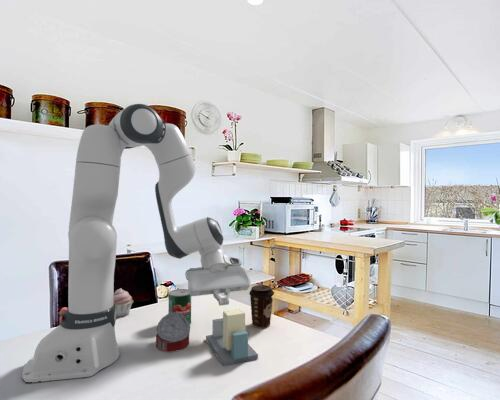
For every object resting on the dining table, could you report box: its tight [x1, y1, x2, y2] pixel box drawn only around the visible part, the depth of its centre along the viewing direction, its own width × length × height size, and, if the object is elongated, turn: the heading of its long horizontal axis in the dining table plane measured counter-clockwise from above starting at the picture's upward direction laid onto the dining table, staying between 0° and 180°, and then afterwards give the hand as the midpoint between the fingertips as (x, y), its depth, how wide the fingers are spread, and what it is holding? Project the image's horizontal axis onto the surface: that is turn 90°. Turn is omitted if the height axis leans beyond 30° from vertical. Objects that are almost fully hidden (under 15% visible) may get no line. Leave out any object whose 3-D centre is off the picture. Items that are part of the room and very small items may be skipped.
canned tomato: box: [167, 288, 192, 326], centre depth 113 cm, size 8×8×11 cm
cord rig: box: [205, 317, 259, 367], centre depth 94 cm, size 10×17×8 cm, turn 23°
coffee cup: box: [248, 284, 275, 329], centre depth 112 cm, size 9×8×13 cm
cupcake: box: [114, 287, 134, 318], centre depth 121 cm, size 9×9×10 cm
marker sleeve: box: [222, 308, 246, 350], centre depth 91 cm, size 5×4×10 cm
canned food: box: [155, 312, 191, 353], centre depth 97 cm, size 11×10×10 cm
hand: (224, 304), depth 99 cm, fingers closed
